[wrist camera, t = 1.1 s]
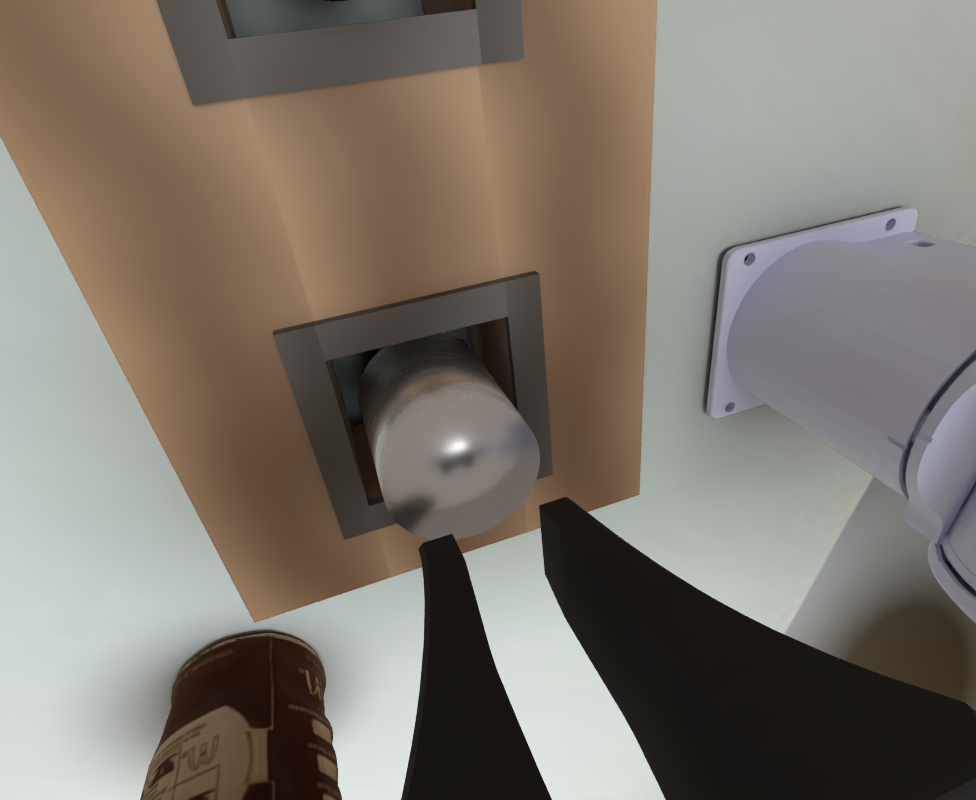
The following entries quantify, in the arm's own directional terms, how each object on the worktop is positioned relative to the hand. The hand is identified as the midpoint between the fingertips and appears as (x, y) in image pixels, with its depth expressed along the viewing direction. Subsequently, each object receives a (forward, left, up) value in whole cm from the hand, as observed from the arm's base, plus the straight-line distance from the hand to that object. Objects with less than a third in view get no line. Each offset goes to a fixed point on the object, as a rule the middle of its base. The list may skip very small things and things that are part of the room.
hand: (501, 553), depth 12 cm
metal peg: (0, 0, -7) cm, 7 cm away
